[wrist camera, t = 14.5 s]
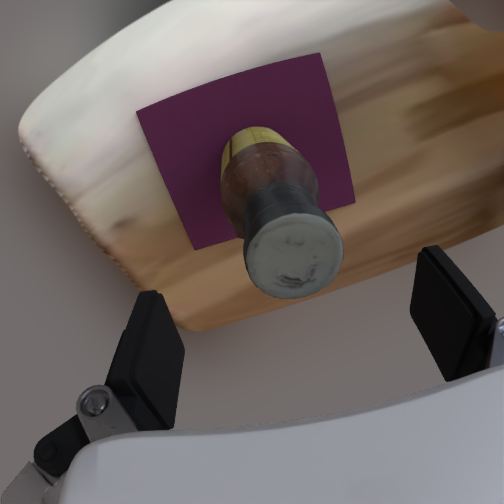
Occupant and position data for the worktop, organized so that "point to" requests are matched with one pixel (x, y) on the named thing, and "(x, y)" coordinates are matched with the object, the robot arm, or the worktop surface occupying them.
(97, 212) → the worktop surface
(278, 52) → the worktop surface
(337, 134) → the cloth
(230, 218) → the sauce bottle
